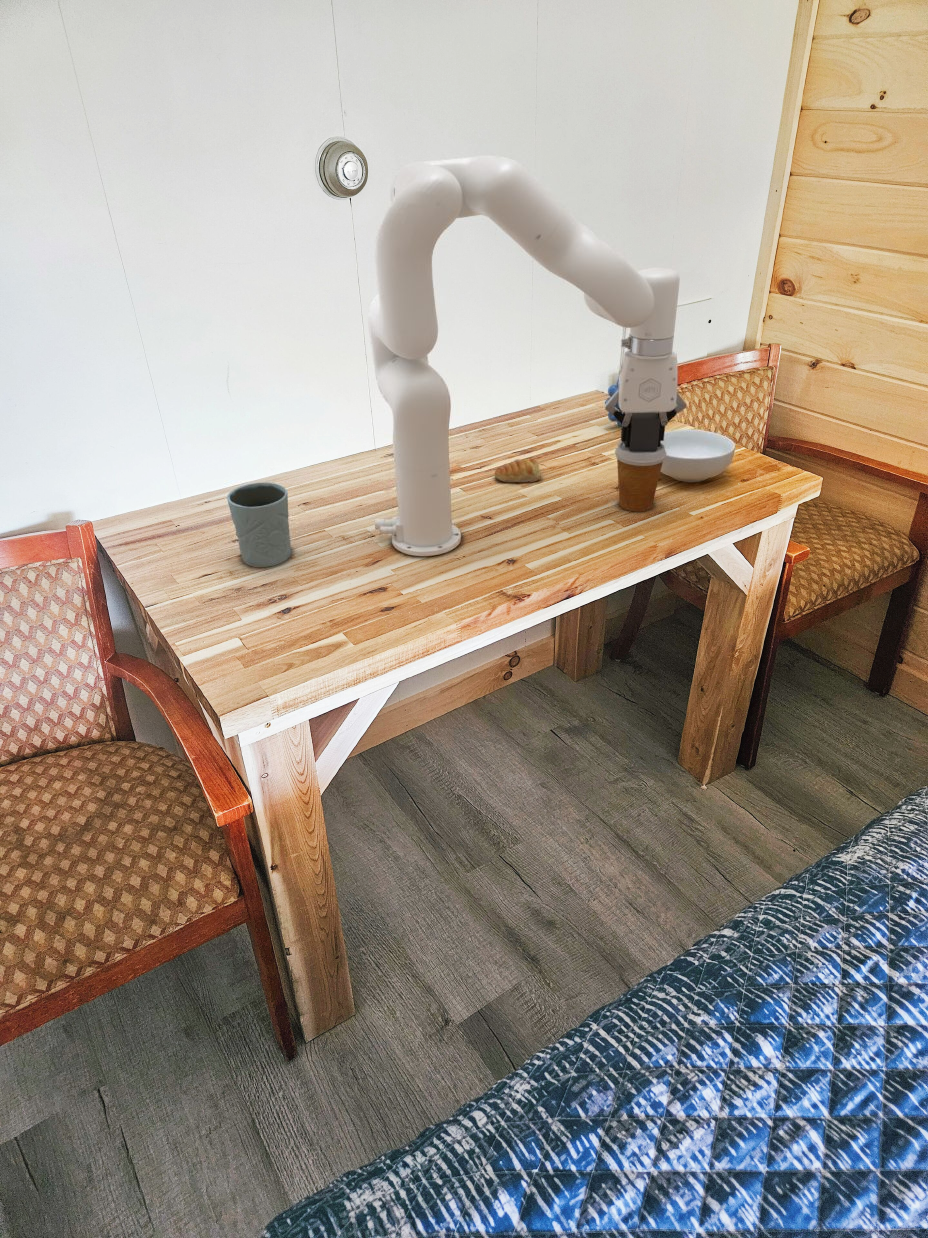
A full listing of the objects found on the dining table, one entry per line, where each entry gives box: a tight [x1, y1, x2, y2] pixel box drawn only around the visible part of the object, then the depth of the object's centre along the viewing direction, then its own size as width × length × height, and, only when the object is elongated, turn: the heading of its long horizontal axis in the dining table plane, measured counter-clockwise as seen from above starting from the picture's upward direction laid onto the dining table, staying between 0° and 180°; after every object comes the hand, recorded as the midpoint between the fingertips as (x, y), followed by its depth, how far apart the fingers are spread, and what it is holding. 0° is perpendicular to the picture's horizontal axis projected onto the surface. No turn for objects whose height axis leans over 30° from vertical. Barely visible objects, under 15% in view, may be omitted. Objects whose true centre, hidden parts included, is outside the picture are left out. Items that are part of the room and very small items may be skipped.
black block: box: [629, 412, 660, 451], centre depth 151 cm, size 5×5×6 cm
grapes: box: [604, 378, 623, 427], centre depth 192 cm, size 12×7×12 cm, turn 123°
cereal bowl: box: [660, 429, 736, 483], centre depth 169 cm, size 17×17×7 cm
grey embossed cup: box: [226, 482, 292, 568], centre depth 143 cm, size 10×10×12 cm
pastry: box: [494, 457, 542, 483], centre depth 171 cm, size 9×7×4 cm
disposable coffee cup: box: [614, 441, 667, 512], centre depth 156 cm, size 10×10×12 cm
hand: (641, 443), depth 153 cm, fingers closed on black block, 5 cm apart
